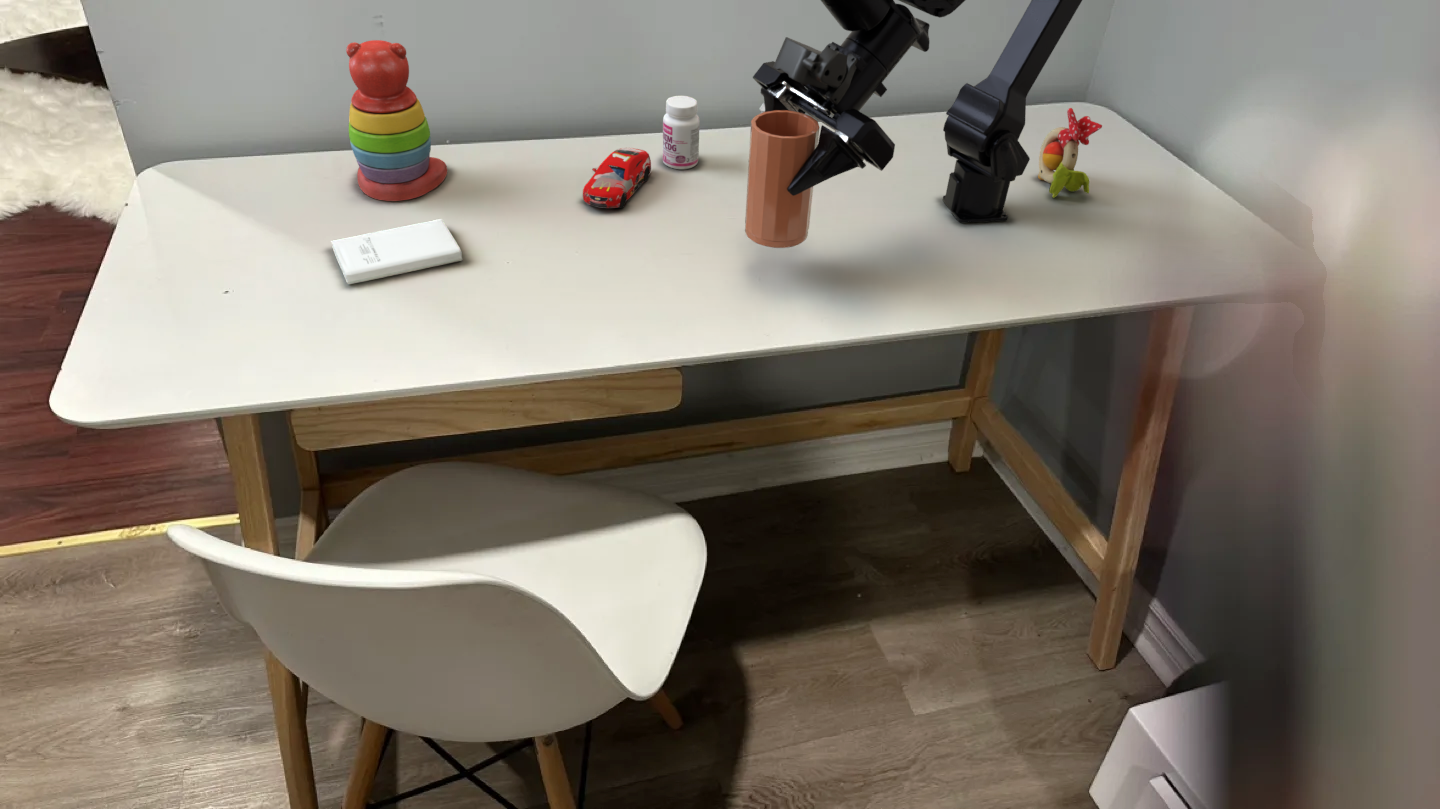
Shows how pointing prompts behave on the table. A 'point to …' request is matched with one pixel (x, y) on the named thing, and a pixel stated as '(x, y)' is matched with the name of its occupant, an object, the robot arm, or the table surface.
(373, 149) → the stacking bear
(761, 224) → the pencil cup
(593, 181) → the race car
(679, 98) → the pill bottle
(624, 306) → the table surface
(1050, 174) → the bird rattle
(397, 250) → the hard drive
